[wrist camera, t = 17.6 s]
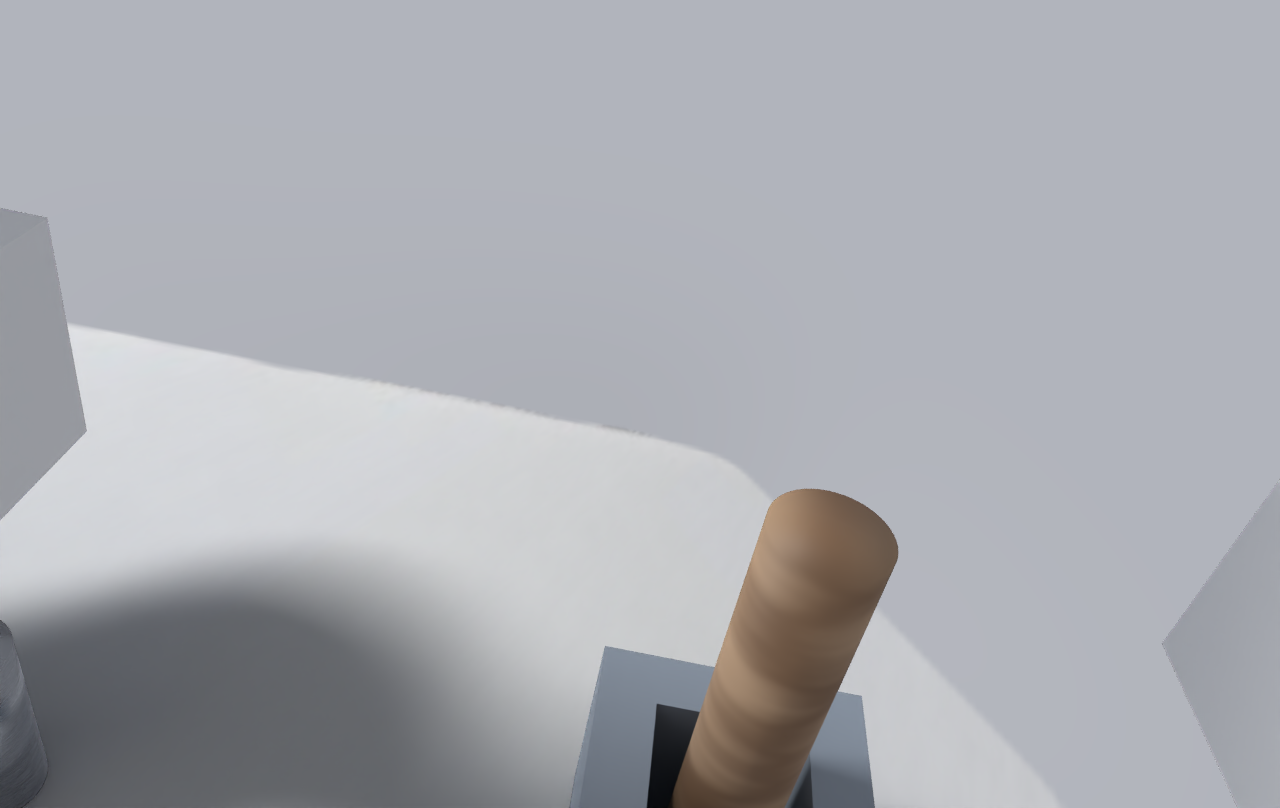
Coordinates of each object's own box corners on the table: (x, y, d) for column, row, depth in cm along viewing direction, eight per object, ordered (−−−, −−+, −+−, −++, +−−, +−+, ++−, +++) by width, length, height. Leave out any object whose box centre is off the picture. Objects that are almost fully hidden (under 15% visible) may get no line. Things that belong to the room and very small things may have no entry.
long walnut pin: (631, 951, 40) (767, 566, 27) (640, 859, 43) (765, 478, 30) (727, 970, 40) (906, 594, 27) (729, 876, 43) (890, 503, 31)
